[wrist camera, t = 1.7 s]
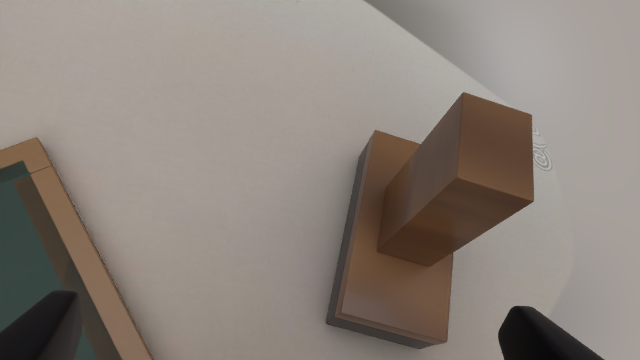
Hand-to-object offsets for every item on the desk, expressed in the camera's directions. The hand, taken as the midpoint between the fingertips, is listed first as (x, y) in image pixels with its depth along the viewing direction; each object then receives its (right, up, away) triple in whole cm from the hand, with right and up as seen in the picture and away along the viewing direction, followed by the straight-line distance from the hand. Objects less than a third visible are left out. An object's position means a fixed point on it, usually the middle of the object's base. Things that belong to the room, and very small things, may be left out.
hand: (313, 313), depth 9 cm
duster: (+4, -1, +18) cm, 18 cm away
